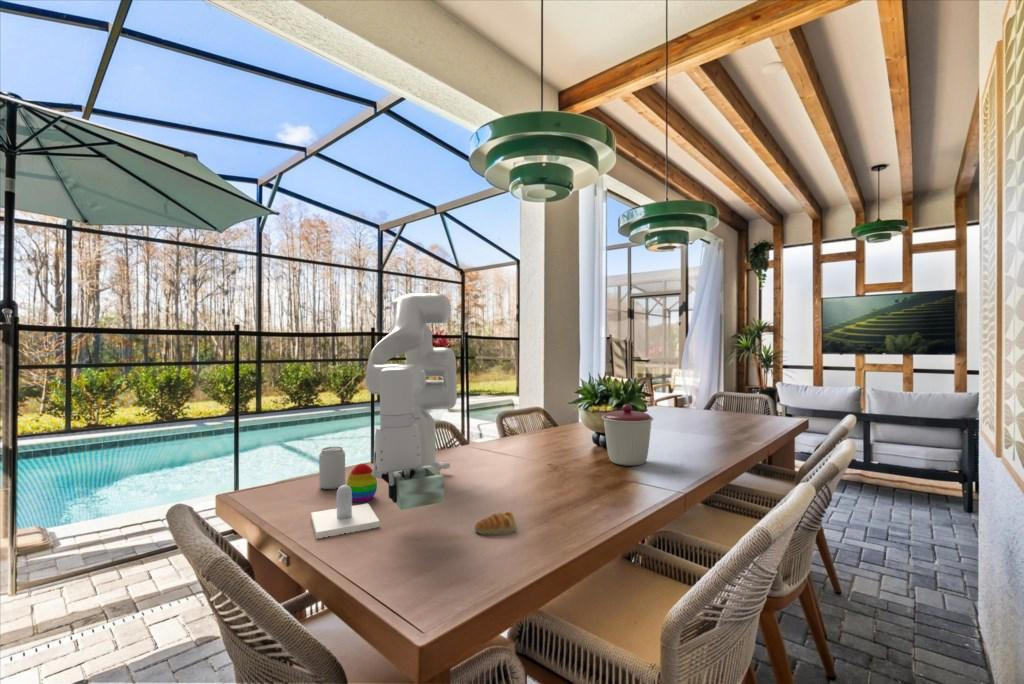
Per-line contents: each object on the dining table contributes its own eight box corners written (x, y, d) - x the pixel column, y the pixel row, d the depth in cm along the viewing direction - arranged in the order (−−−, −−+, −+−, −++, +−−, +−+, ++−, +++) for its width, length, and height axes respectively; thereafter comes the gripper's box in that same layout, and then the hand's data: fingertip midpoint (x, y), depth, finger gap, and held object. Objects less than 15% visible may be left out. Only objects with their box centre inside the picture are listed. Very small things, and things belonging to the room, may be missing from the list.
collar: (430, 489, 117) (430, 465, 117) (443, 501, 109) (443, 476, 108) (390, 495, 113) (389, 471, 113) (400, 509, 104) (400, 482, 104)
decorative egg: (373, 503, 130) (373, 467, 130) (343, 504, 129) (342, 468, 129) (379, 494, 138) (379, 459, 138) (351, 494, 137) (351, 460, 137)
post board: (368, 508, 125) (367, 474, 125) (379, 527, 113) (379, 488, 113) (311, 518, 119) (310, 481, 119) (316, 539, 107) (316, 498, 106)
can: (313, 489, 143) (313, 449, 143) (331, 482, 150) (331, 444, 150) (333, 492, 140) (332, 451, 140) (350, 484, 147) (350, 446, 147)
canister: (623, 471, 159) (622, 409, 159) (592, 459, 175) (591, 402, 175) (664, 465, 166) (664, 405, 166) (631, 454, 183) (631, 400, 183)
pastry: (480, 540, 106) (480, 522, 106) (471, 529, 112) (471, 513, 112) (518, 532, 110) (518, 516, 110) (507, 522, 116) (507, 507, 116)
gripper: (425, 415, 115) (426, 489, 116) (359, 421, 108) (360, 500, 108) (435, 420, 108) (435, 499, 109) (365, 427, 101) (366, 511, 102)
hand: (398, 499), depth 109 cm, fingers closed on collar, 1 cm apart
